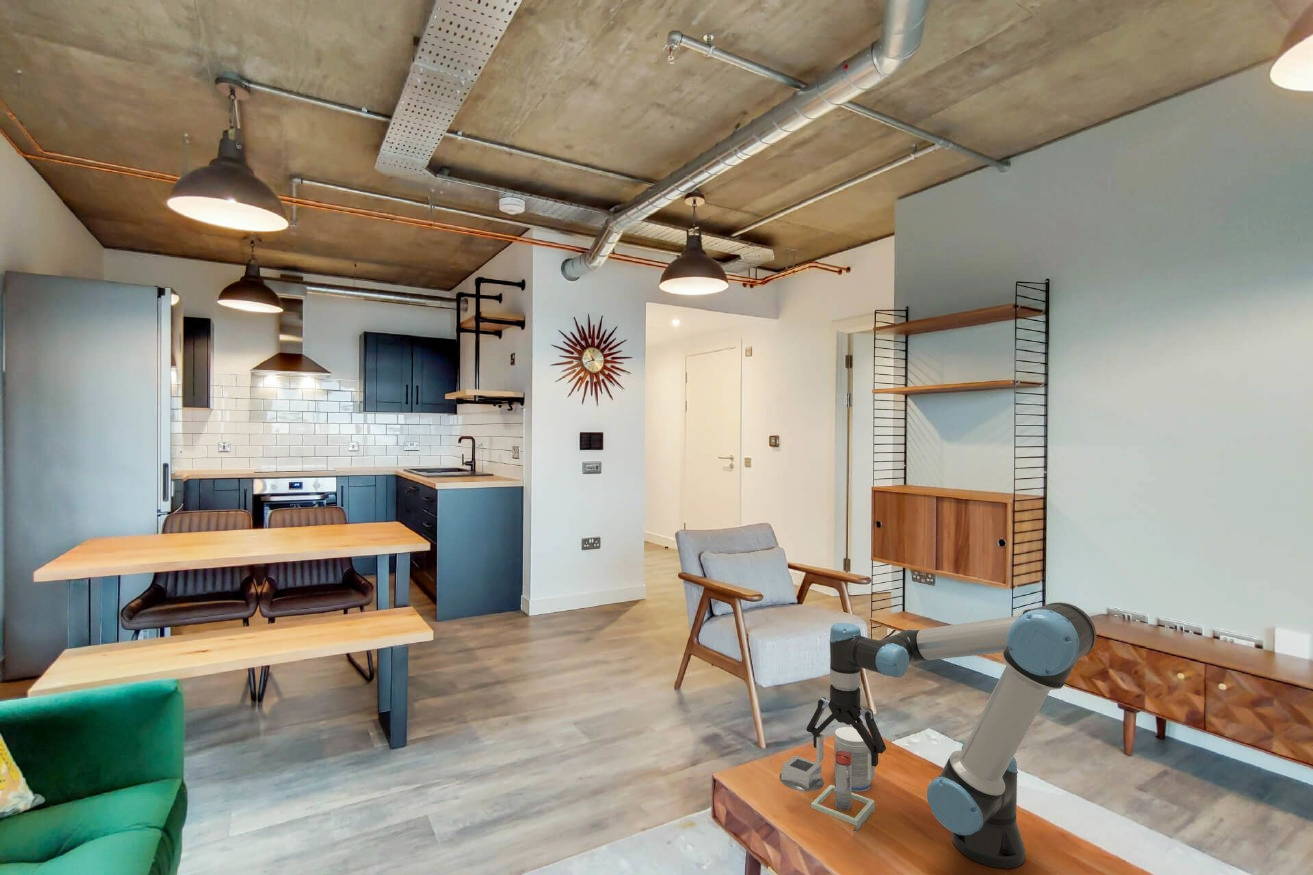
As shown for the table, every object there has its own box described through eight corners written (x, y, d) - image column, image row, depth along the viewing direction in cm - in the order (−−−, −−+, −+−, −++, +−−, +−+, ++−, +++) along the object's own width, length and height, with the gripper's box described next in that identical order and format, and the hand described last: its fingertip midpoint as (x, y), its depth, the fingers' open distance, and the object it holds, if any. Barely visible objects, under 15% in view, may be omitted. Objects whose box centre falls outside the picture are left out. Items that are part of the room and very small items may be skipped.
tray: (874, 810, 166) (874, 800, 166) (856, 831, 156) (856, 821, 156) (830, 793, 173) (830, 784, 173) (810, 813, 164) (811, 803, 164)
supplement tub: (876, 788, 176) (877, 734, 176) (859, 801, 170) (860, 745, 170) (844, 774, 183) (845, 722, 183) (827, 786, 177) (828, 732, 177)
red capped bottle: (853, 808, 165) (854, 753, 165) (847, 815, 162) (848, 759, 162) (838, 803, 167) (839, 749, 168) (832, 809, 164) (832, 754, 165)
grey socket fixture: (831, 783, 178) (831, 763, 178) (812, 802, 169) (812, 781, 169) (791, 769, 186) (791, 750, 186) (771, 786, 176) (771, 766, 176)
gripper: (899, 693, 160) (899, 779, 160) (806, 671, 176) (806, 749, 175) (888, 702, 154) (888, 791, 154) (793, 678, 170) (793, 759, 169)
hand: (844, 769), depth 164 cm, fingers open, 13 cm apart
